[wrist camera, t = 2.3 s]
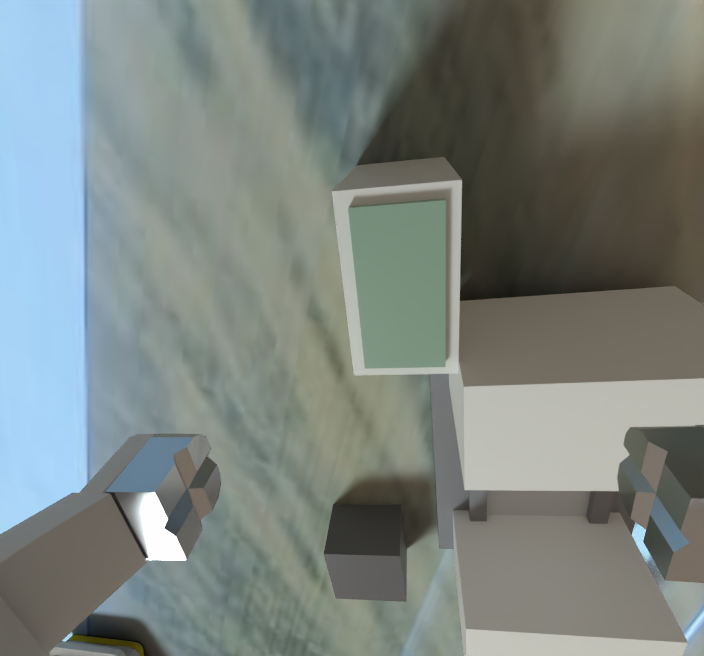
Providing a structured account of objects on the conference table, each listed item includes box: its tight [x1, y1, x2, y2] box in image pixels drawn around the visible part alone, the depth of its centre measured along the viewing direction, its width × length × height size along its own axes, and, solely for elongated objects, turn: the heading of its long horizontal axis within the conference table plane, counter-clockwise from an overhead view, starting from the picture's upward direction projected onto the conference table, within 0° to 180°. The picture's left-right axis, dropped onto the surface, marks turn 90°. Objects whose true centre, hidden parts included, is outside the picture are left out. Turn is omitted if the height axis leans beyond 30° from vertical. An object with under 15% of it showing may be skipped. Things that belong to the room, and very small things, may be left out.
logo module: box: [332, 157, 462, 375], centre depth 17 cm, size 7×4×7 cm, turn 6°
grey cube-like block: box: [324, 504, 407, 602], centre depth 29 cm, size 5×5×4 cm
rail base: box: [429, 286, 704, 656], centre depth 21 cm, size 20×12×8 cm, turn 8°
